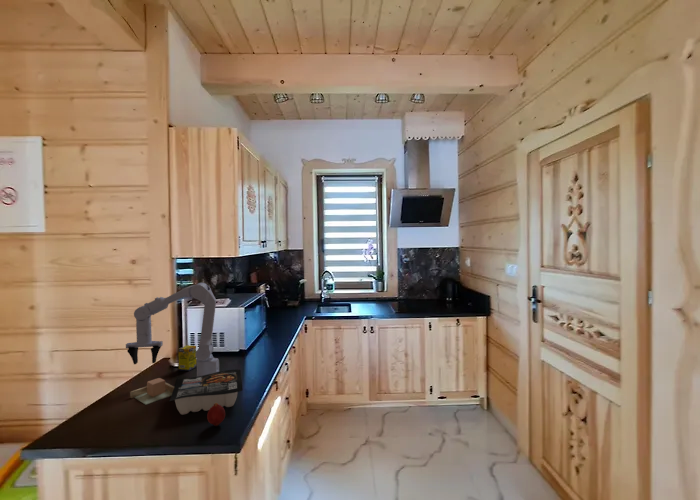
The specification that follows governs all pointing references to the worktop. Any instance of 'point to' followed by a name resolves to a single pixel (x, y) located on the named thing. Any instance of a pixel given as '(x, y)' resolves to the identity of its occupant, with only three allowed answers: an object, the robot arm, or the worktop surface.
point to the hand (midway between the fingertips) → (144, 363)
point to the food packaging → (206, 391)
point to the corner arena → (146, 398)
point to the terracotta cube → (156, 387)
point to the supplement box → (187, 358)
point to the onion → (216, 414)
